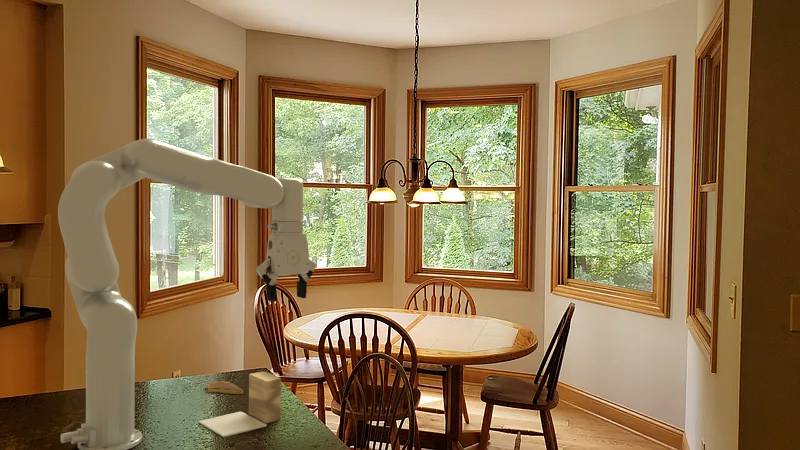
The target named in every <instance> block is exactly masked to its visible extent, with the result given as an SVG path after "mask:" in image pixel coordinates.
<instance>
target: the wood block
mask: <svg viewBox="0 0 800 450" xmlns="http://www.w3.org/2000/svg"><path fill="white" fill-rule="evenodd" d="M281 398H282V378H281V377H278V376H276V375H273V374H271V373H269V372H267V371H258V372H253V373H249V374H248V415H249V416H251V417H253V418H255V419H257V420H259V421H261V422H263V423H265V424H268V423H273V422H276V421H280V420H281V412H282V410H281V409H282V407H281V406H282V403H281V402H282V399H281Z"/></svg>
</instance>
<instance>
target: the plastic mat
mask: <svg viewBox="0 0 800 450" xmlns="http://www.w3.org/2000/svg"><path fill="white" fill-rule="evenodd" d="M198 424H199V425H202V426H203V427H205V428H206V429H209V430H210V431H212V432H213V433H215V434H217V435H218V436H220V437H222V438H227V437H231V436H234V435H238V434H241V433H246V432H250V431H253V430H258V429H261V428H265V427H268V425H267V424H268V423H265V422H263V421H261V420H259V419H257V418H255V417H253V416H251V415H249V414H247V413H245V412H243V411H240V410H239V411H236V412H232V413H228V414H223V415H220V416H215V417H211V418H207V419H203V420H199V421H198Z"/></svg>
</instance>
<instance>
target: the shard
mask: <svg viewBox="0 0 800 450" xmlns="http://www.w3.org/2000/svg"><path fill="white" fill-rule="evenodd" d="M205 386H206V387H207V393H218V392H219V394H231V395H232V394H233V395H243V394H244V392H245V390H244V389H242V388H240V387H238V386H237V384H234V383H232V382H230V381H222V380H220V381H214V382H213V381H212V382H208V383H205Z"/></svg>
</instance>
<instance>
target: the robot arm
mask: <svg viewBox="0 0 800 450" xmlns="http://www.w3.org/2000/svg"><path fill="white" fill-rule="evenodd" d="M143 179H148V180H153V181H156V182H160V183H163V184H166V185H171V186H173V187H177V188H179V189H182V190H183V189H184V190H186V191H190V192H194V193H197V194H201V195H203V194H204V195H209V196H211V195H212V196H219V197H226V198H229V199H235V200H238V201H240V202H241V203H242V204H243V205H245V206H247V207H250V208H256V209H257V208H258V209H259V208H260V209H271V223H268V224H267V229H268V230H271V233H269V236H268V240H267V247H266V256H265V260H264V261H263V262H262V263H261V264H260V265H258V266H257V267H256V268H255V271H256V273H257V275H258V277H259V278H260V279H261V281H263V283H264V285H265V286H266V287H265V289H266V291H265V295H266V300H267V301H269V302H273V303H274V302H276V301H277V285H276V282H277V280H278V278H279V276H281V277H284V276H296V277H297V279H298V280H297V281H296V297H297V298H301V299H306V298H307V293H308V291H307V290H308V288H307V286H308V282H309V281H310V278H311V277H312V275H313V274H314V272H315V270H316V268H317V264H316V263H315V262H314V261H313V260H311V259H310V252H309V245H308V244H309V243H308V238H307V234H306V233H304V182H303V180H302V179H300V178H297V177H277V178H276V177H274V175H271V174H270V175H269V174H267V173H264V172H261V171H258V170H255V169H252V168H249V167H246V166H242V165H239V164H238V165H237V164H235V163H230V162H227V161H224V160H221V159H218V158H214V157H210V156H206V155H204V154H200V153H197V152H194V151H191V150H188V149H184V148H181V147H178V146H175V145H173V144H169V143H167V142H163V141H160V140H156V139H152V138H141V139H138V140H134V141H131V142H129V143H127V144H125V145H123V146H120V147H119V148H116V149H114V150H111V151H110V152H107V153H105V154H103V155H100V156H98V157H95V158H93V159H91V160H89V161H86V162H84V163H81V164H79V165H78V166H77V167H76V168H75V169H74V170H73V172H72V174H71V176H70V179H69V181H68V182H67V184H66V185H65V187H64V189H63V191H62V193H61V196H60V198H59V202H58V207H57V220H58V224H59V225H58V226H59V228H60V229H59V230H60V233H61V237H62V240H63V244H64V245H63V246H64V248H65V252H66V255H67V256H66V259H65V262H64V271H65V272H64V273H65V276H66V280H67V284H68V287H69V290H70V292H71V295H72V298H73V299H72V300H73V302H74V305H75V308H76V311H77V314H78V317H79V320H80V322H81V324H82V325H83V326H84V328H85V329H86V336H87V337H86V349H85V422H83V423H81V424H80V425H81V428H77V429H76V430H75V431H68V432H64V433H60V435H59V437H60V442H61V444H64V443H65V444H66V443H69V442H71V444H72V445H74V444H77V449H78V450H129V449H132V448H134V447H136V446H138V445H139V444H140V443H142V440H143V433H142V432H141V431H140V430H138V429H136V428H135V416H136V415H135V410H136V409H135V408H136V407H135V404H136V403H135V401H136V400H135V398H136V397H135V396H136V395H135V387H136V386H135V381H136V380H135V377H136V375H135V372H136V371H135V369H136V368H135V363H136V362H135V360H136V359H135V355H136V342H137V333H138V317H137V314H136V309H134V306H133V305H132V304H131V302H129V301H128V300H127V299H126V298H124V297H122V294H121V290H120V287H119V283H118V279H119V277H120V266H119V262H118V260H117V257H116V254H115V251H114V247H113V246H112V241H111V238H110V235H109V232H108V228H107V224H106V219H105V218H106V217H105V213H106V207H107V205H108V203H109V202H110V200H111V199H112V198H114V197H115V196H116V195H117V194H118V192H119V191H121V190H123V189H125V188H127V187H129V186H131V185H133V184H136V183H137V182H139V181H141V180H143ZM267 273H268V274H267Z"/></svg>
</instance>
